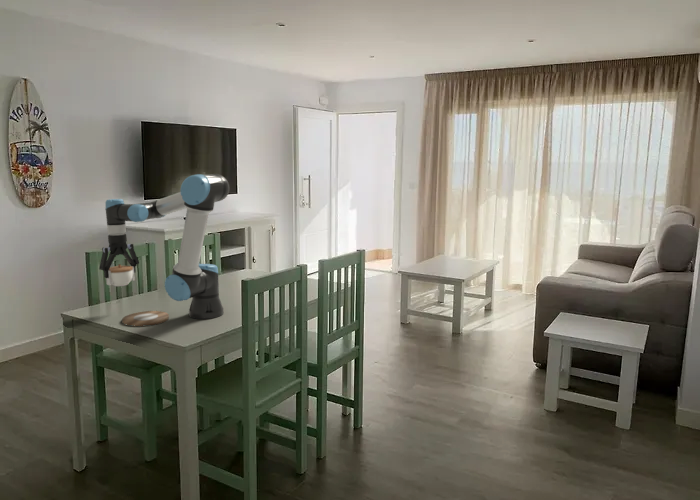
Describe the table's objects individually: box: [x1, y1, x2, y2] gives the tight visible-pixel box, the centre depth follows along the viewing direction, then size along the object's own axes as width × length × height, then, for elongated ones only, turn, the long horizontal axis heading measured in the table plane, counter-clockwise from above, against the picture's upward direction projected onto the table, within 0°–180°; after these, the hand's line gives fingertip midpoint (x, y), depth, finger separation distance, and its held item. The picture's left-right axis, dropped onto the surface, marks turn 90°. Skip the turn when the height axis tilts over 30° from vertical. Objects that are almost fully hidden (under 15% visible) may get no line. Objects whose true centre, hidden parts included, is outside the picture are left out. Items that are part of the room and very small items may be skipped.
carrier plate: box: [121, 310, 170, 327], centre depth 236 cm, size 19×19×1 cm
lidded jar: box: [109, 263, 133, 287], centre depth 243 cm, size 11×11×9 cm
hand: (121, 282), depth 244 cm, fingers closed on lidded jar, 11 cm apart
